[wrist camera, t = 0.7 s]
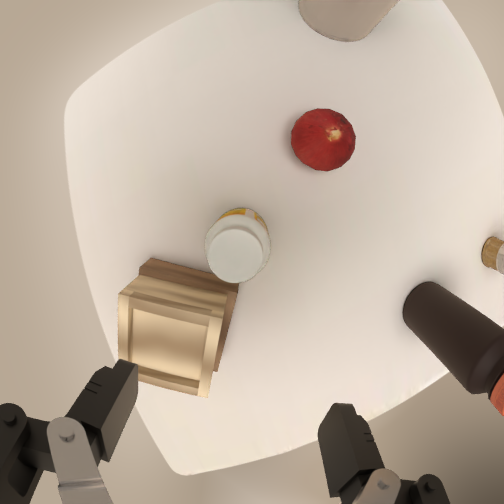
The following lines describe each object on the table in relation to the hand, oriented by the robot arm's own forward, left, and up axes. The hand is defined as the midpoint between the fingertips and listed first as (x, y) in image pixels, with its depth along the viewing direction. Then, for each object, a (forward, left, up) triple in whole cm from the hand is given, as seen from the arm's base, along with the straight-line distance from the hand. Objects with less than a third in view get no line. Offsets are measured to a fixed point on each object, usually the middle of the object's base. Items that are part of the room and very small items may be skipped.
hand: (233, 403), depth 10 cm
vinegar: (0, +24, -21) cm, 32 cm away
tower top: (+7, -5, -17) cm, 19 cm away
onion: (-14, +4, -21) cm, 25 cm away
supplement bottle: (-3, -1, -21) cm, 21 cm away
